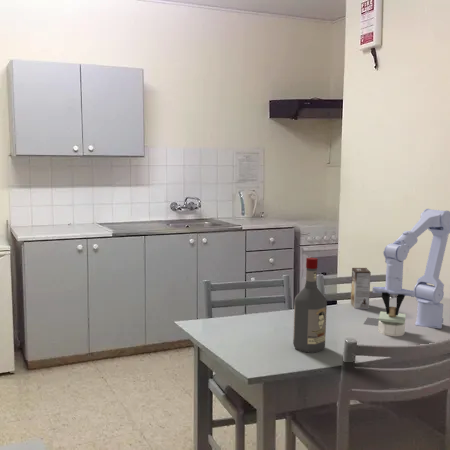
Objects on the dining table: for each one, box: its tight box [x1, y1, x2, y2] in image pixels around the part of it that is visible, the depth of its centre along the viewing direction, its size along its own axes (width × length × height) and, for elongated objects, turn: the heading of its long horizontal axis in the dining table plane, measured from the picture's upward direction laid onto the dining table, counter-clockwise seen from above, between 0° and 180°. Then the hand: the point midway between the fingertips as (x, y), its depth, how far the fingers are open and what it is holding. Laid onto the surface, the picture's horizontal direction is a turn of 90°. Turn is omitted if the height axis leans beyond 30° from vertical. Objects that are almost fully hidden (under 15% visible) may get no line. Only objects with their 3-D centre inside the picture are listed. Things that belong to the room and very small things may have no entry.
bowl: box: [377, 321, 406, 337], centre depth 206 cm, size 9×9×4 cm
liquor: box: [292, 257, 328, 353], centre depth 187 cm, size 9×9×30 cm
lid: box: [377, 306, 407, 324], centre depth 206 cm, size 9×9×4 cm
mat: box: [363, 317, 379, 327], centre depth 219 cm, size 10×10×1 cm
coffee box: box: [350, 267, 372, 310], centre depth 242 cm, size 9×6×16 cm
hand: (392, 314), depth 206 cm, fingers closed on lid, 2 cm apart
